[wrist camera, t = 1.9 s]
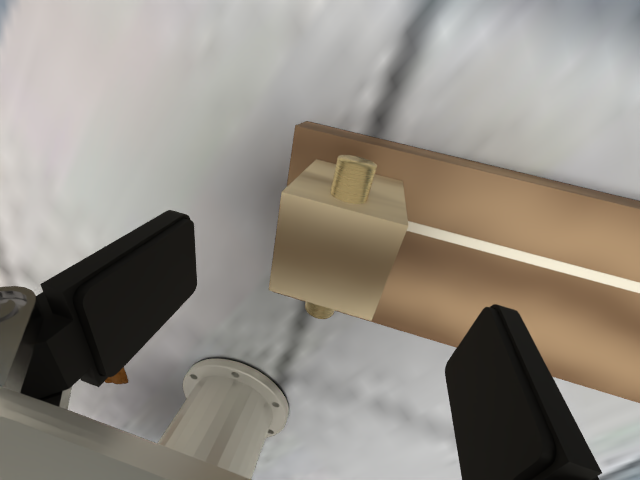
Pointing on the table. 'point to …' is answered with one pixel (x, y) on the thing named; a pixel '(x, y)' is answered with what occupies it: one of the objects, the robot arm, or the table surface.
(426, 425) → the table surface
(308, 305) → the marking gauge
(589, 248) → the board
